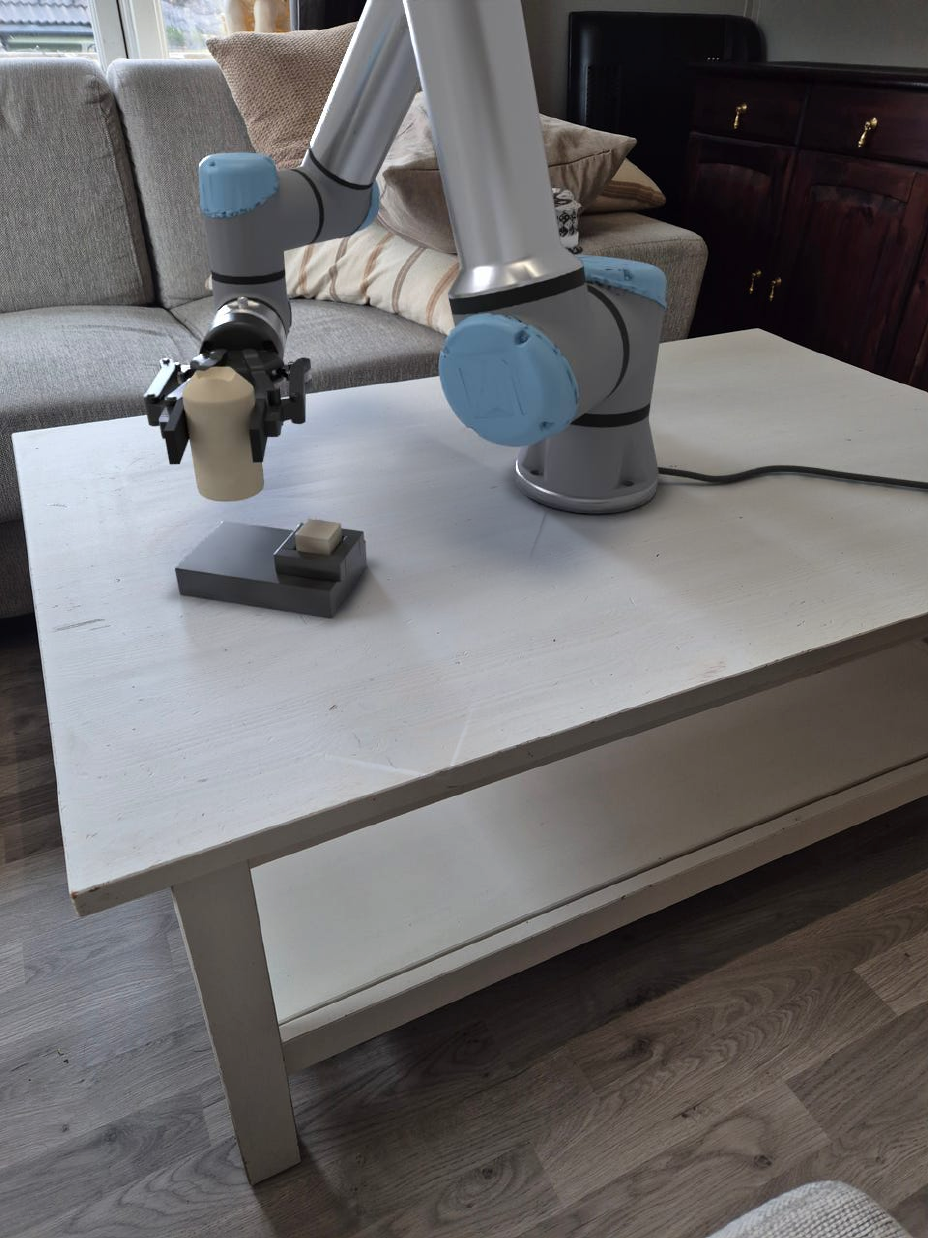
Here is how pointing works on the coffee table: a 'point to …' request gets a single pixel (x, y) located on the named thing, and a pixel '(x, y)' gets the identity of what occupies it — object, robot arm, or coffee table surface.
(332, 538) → the key
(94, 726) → the coffee table surface
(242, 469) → the candle
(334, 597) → the grey stepped base
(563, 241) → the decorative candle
